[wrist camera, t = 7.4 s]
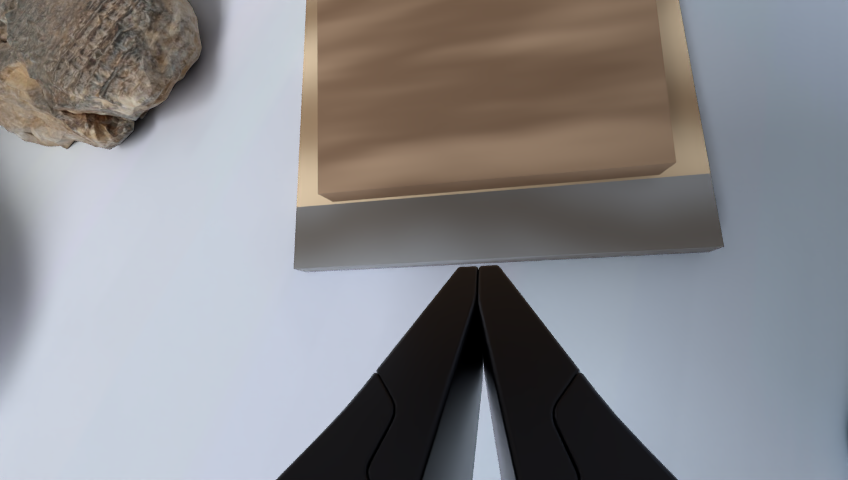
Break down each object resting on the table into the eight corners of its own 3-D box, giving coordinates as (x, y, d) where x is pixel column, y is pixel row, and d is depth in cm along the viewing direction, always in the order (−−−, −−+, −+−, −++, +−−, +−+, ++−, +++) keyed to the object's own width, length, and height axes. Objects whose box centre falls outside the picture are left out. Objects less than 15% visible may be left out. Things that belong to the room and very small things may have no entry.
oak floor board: (708, 252, 17) (724, 246, 15) (305, 271, 20) (293, 268, 19) (629, -198, 22) (636, -227, 21) (322, -124, 25) (313, -145, 24)
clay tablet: (266, 20, 24) (60, -73, 29) (208, -51, 19) (-25, -148, 24) (139, 220, 23) (-50, 90, 28) (47, 197, 19) (-161, 45, 23)
